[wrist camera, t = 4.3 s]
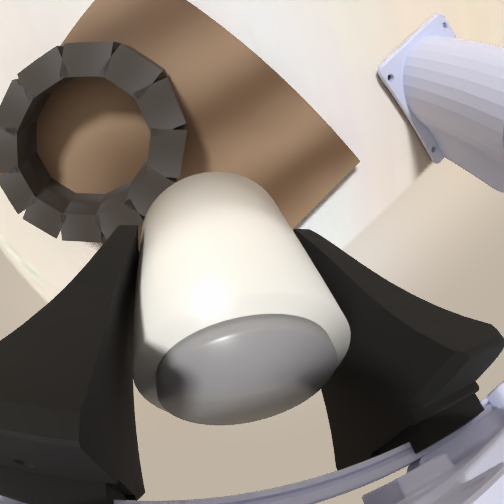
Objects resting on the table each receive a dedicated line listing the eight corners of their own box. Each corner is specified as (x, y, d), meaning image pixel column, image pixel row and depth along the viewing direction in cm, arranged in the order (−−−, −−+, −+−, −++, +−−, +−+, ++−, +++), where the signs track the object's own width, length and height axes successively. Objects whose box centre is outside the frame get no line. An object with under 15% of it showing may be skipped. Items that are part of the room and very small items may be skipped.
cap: (306, 234, 12) (384, 358, 7) (211, 309, 13) (240, 440, 8) (216, 139, 9) (273, 257, 4) (113, 244, 10) (90, 400, 5)
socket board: (352, 155, 19) (381, 176, 16) (217, 293, 23) (224, 327, 21) (123, -35, 9) (111, -54, 6) (-3, 168, 14) (-30, 193, 11)
